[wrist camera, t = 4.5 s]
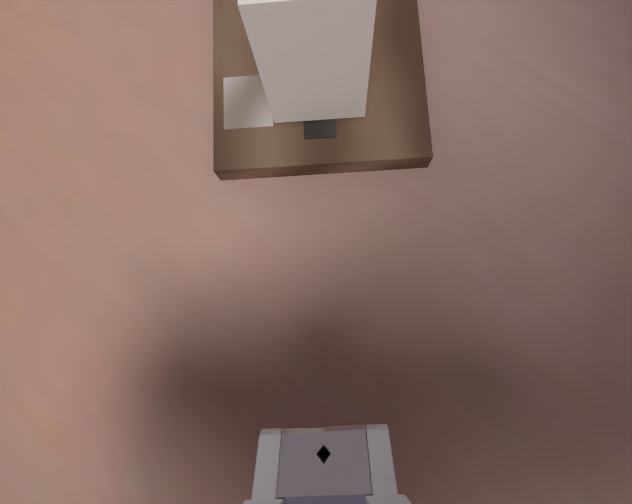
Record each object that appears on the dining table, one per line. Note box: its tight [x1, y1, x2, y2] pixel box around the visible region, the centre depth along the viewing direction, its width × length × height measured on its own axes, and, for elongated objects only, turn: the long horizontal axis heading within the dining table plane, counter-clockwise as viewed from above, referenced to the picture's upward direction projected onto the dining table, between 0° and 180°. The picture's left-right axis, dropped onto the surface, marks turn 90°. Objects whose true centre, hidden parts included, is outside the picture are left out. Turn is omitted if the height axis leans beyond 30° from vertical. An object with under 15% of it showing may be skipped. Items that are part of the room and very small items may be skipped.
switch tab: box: [238, 0, 377, 123], centre depth 21 cm, size 5×3×9 cm, turn 92°
